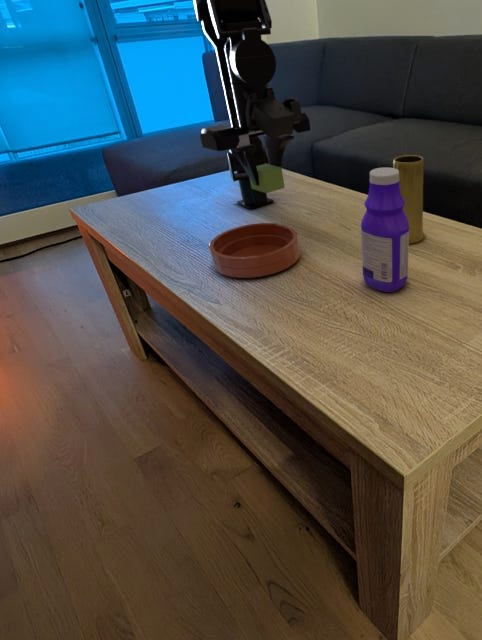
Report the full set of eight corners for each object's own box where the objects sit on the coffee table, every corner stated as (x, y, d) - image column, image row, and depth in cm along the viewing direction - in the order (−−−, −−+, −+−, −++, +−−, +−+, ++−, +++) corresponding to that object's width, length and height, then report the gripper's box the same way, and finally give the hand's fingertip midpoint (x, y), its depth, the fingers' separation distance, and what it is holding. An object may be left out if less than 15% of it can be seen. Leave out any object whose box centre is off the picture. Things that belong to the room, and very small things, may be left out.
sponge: (251, 188, 82) (247, 168, 80) (269, 183, 84) (266, 163, 82) (266, 193, 79) (262, 172, 77) (284, 187, 81) (281, 167, 79)
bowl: (199, 262, 83) (193, 241, 80) (269, 236, 90) (266, 217, 88) (242, 289, 73) (237, 267, 71) (317, 258, 81) (314, 237, 78)
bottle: (414, 284, 71) (417, 169, 60) (392, 298, 68) (391, 180, 57) (379, 271, 75) (377, 162, 64) (356, 284, 72) (350, 172, 61)
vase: (423, 231, 88) (425, 153, 79) (423, 244, 83) (427, 162, 74) (391, 231, 88) (391, 154, 80) (390, 244, 84) (390, 164, 75)
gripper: (222, 91, 62) (246, 205, 71) (325, 75, 71) (334, 177, 81) (186, 88, 69) (212, 192, 78) (285, 74, 78) (297, 168, 88)
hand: (266, 182), depth 81 cm, fingers closed on sponge, 4 cm apart
